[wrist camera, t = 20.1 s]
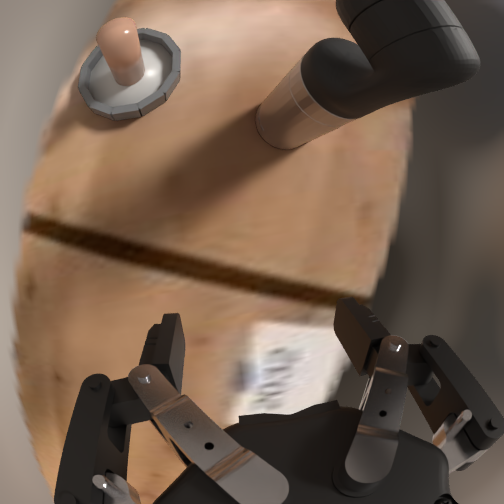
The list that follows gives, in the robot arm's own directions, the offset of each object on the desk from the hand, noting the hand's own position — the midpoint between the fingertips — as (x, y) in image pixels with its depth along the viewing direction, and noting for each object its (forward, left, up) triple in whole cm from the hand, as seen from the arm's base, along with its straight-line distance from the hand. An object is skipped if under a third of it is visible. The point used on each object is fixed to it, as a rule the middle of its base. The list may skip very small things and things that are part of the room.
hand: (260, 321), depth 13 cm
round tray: (+11, -29, -28) cm, 41 cm away
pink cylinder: (+11, -29, -27) cm, 41 cm away
